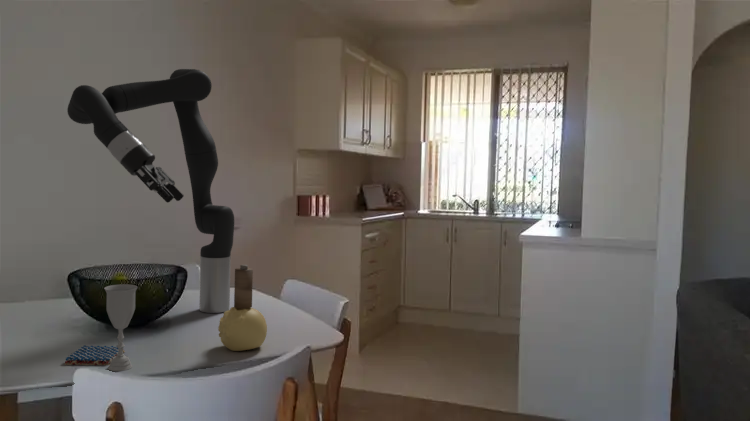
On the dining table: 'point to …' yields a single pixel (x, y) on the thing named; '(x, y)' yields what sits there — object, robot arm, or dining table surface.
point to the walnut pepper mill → (243, 287)
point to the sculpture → (242, 329)
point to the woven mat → (92, 356)
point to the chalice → (120, 319)
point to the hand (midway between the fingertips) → (176, 199)
